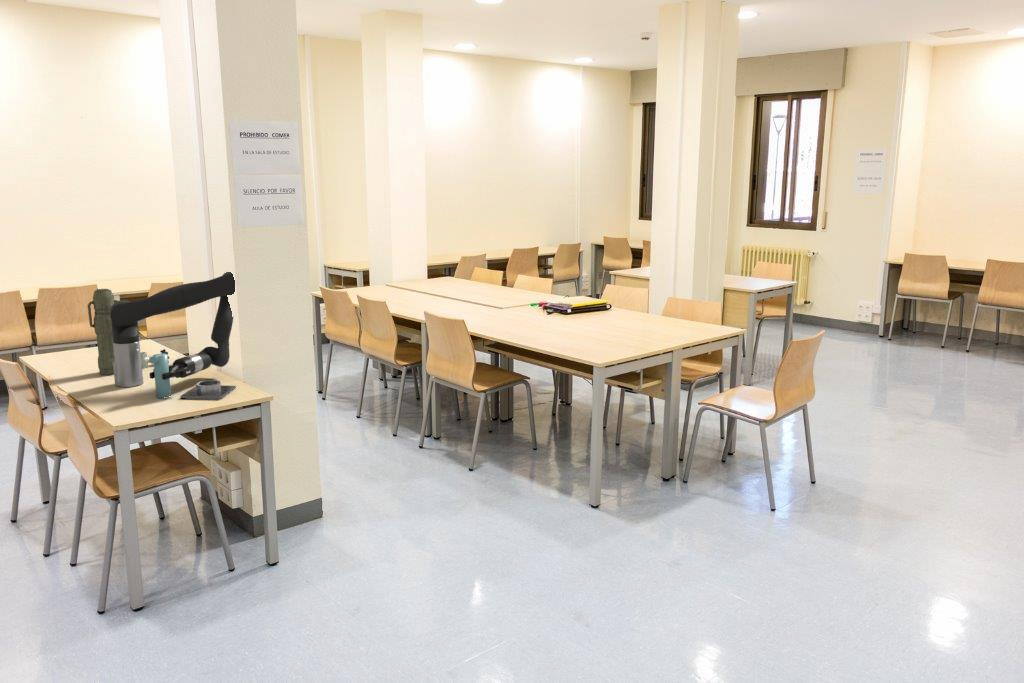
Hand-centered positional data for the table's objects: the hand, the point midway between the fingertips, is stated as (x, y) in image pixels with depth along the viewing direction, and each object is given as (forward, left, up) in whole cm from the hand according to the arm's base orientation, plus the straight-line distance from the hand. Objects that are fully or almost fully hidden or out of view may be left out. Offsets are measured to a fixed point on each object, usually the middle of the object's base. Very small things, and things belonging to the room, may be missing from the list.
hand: (156, 376), depth 285 cm
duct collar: (+16, +8, -9) cm, 19 cm away
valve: (-26, +48, -9) cm, 55 cm away
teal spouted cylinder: (+1, +3, -9) cm, 9 cm away
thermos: (-37, +36, -9) cm, 52 cm away
